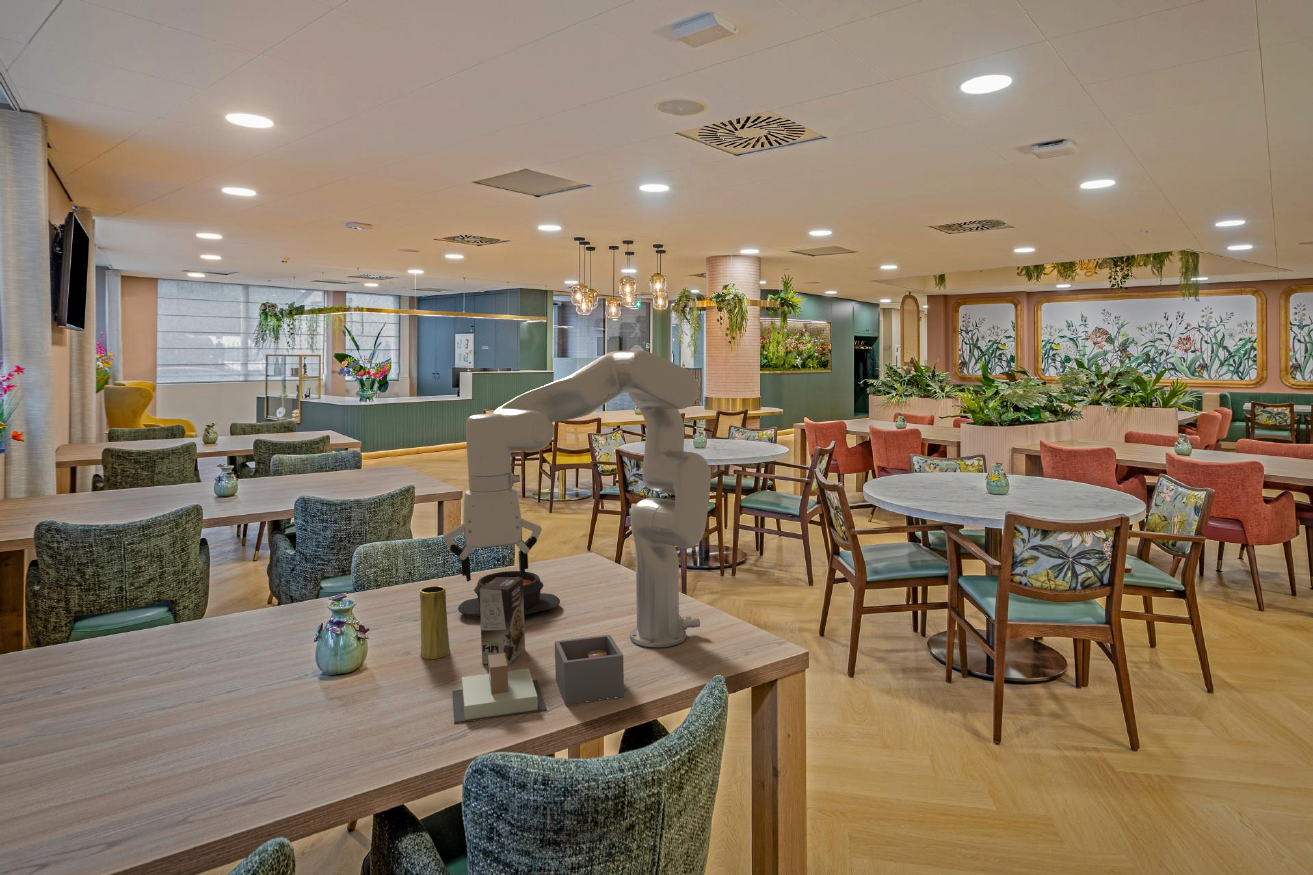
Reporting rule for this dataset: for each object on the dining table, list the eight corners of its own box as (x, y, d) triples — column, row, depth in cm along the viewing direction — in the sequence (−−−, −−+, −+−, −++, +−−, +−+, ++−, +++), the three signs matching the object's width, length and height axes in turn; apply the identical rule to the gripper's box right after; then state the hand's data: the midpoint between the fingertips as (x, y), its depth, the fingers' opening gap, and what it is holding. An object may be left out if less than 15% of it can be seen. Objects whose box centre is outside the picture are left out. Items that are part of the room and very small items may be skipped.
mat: (537, 681, 148) (537, 679, 148) (546, 710, 136) (546, 708, 136) (452, 692, 144) (452, 690, 144) (454, 723, 131) (454, 722, 131)
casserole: (455, 628, 178) (454, 593, 177) (460, 603, 196) (459, 571, 195) (562, 620, 183) (561, 586, 182) (558, 596, 201) (557, 565, 200)
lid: (529, 681, 148) (527, 643, 147) (537, 709, 136) (536, 669, 135) (462, 689, 144) (460, 651, 143) (465, 719, 132) (463, 678, 131)
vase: (434, 662, 158) (431, 595, 157) (414, 656, 162) (411, 591, 160) (456, 652, 164) (453, 587, 162) (436, 646, 167) (433, 583, 165)
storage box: (610, 673, 151) (609, 634, 151) (624, 696, 141) (623, 655, 140) (555, 680, 148) (554, 641, 147) (565, 705, 138) (564, 662, 137)
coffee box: (510, 666, 156) (507, 589, 154) (480, 664, 157) (478, 588, 155) (526, 649, 165) (524, 576, 163) (498, 647, 166) (496, 575, 164)
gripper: (536, 476, 142) (540, 565, 144) (440, 483, 137) (445, 575, 139) (541, 483, 134) (546, 576, 137) (440, 490, 130) (446, 587, 132)
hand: (495, 576), depth 138 cm, fingers open, 9 cm apart
